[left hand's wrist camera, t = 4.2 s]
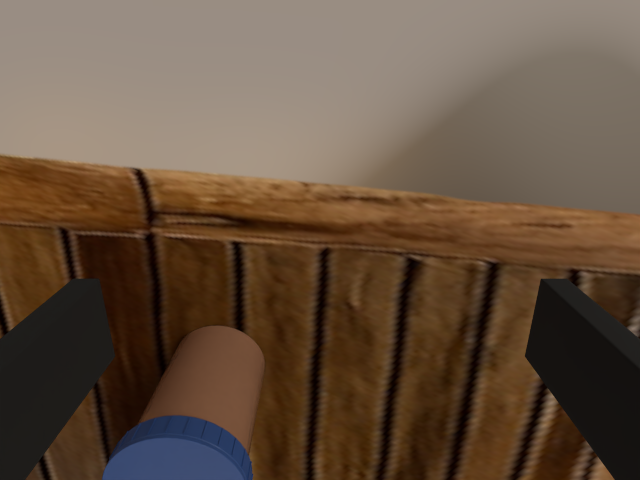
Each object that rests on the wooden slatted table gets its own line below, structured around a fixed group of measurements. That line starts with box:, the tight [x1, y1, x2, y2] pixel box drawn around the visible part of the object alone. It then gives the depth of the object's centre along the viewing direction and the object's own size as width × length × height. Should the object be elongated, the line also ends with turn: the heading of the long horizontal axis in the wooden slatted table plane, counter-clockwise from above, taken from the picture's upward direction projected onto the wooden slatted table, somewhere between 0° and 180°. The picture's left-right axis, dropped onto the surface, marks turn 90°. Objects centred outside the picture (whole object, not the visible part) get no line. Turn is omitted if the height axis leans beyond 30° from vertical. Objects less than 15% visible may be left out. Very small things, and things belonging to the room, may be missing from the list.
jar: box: [137, 326, 265, 455], centre depth 40 cm, size 10×10×15 cm
